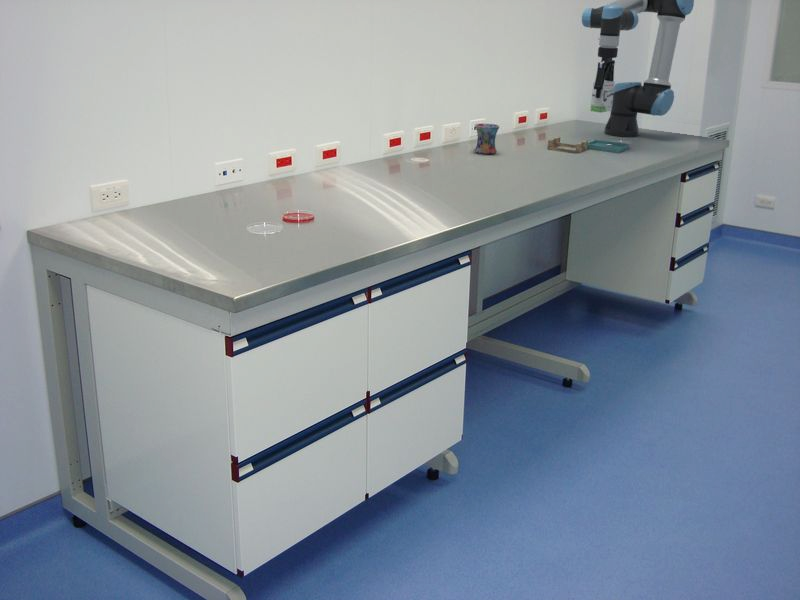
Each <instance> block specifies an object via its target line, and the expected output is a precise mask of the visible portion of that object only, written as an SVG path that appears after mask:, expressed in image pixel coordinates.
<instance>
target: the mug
mask: <svg viewBox="0 0 800 600" xmlns="http://www.w3.org/2000/svg"><path fill="white" fill-rule="evenodd" d="M474 126H475V129H476V133H477V142H476V145H475V148H474V151H475V152H476V153H477V154H482V155H492V154H496V152H497V149H496V137H497V134H498V132H499V129H500V125H498V124H494V123H476V124H475V125H474Z"/></svg>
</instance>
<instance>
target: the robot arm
mask: <svg viewBox="0 0 800 600" xmlns="http://www.w3.org/2000/svg"><path fill="white" fill-rule="evenodd" d="M694 5H695V0H615V1H612V2H609V3H607V4H604V5H601V6H600V7H596V8H593V7H590V8H585V9H584V11H583V12H582V15H581V24H582V26H583V27H585V28H588V29H589V28H590V29H600V34H599V37H598V39H597V40H598V45H599V47H598V49H597V50H598V51H597V57H598V58H601V61H600V62H599V61H598V63H597V70H596V74H595V75H596V76H595V80H594V81H595V85H594V89H596V94H595V103H594V106H599V107H601V104H602V96H603V90H602V88H603V84H604V81H605V80H607V81H613V82H615V81H614V79H615V63H616V61H615V60H613V59H616V58H617V57H618V51H619V49H618V47H619V45H620V44H619V43H620V33H621V31H631V30H633V29H634V30H635V28H637V26H638V23H639V16H638V14H641V13H654V14H656V17H657V19H658V20H659V23H658V28H657V34H656V38H655V44H654V48H653V52H652V58H651V63H650V69H649V73H648V78H647V79H645V80H643V85H642V82H641V81H632V82H631V81H628V82H617V83H615V86H614V94H613V103H612V111H610V116H609V118H608V120H607V122H606V124H605V127H604V131H603V133H604V134H606V135H609V136H616V137H631V138H632V137H638V136H639V131H640V130H639V125H638V119H637V117H638V113H639V114H645V115H650V116H659V117H660V116H665V115H666V114H667V113H668V112H669V111H670V110H671V108H672V107H673V103H674V100H675V92H674V90H673V89H672V84H671V82H670V80H669V79H670V75H671V71H672V65H673V60H674V57H675V51H676V50H675V49H676V46H677V41H678V37H679V31H680V26H681V23H683V22H684V21H685V20H686V16H688V15H690V14H691V13H692V11H693V9H694Z"/></svg>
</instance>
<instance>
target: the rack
mask: <svg viewBox="0 0 800 600" xmlns="http://www.w3.org/2000/svg"><path fill="white" fill-rule="evenodd" d="M560 141H561V136H557V137H554V138H552V139H549V140H547V150H549V151H557V152H564V153H571V154H579V153H582V152H583V151H586V150H588V149H587V145H588V142H589V141H588V140H584V141H581V142H579V143H576V144H572V143H562V142H560ZM560 147H567V148H560ZM568 148H569V149H568ZM570 148H575V149H570Z"/></svg>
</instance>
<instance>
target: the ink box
mask: <svg viewBox="0 0 800 600" xmlns="http://www.w3.org/2000/svg"><path fill="white" fill-rule="evenodd" d="M615 84H616V82H615V81H614V82H613V81H607V80H605V81H604V84H603V88H602V90H603V96H602V104H601V107H599V106H594V103H595V94H596V89H594V85H595V80H594V81H593V84H592V94H591V103H590V111H591V112H594V113H600V114H601V113H605V112H611V111H612V103H613V94H614V86H615Z"/></svg>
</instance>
